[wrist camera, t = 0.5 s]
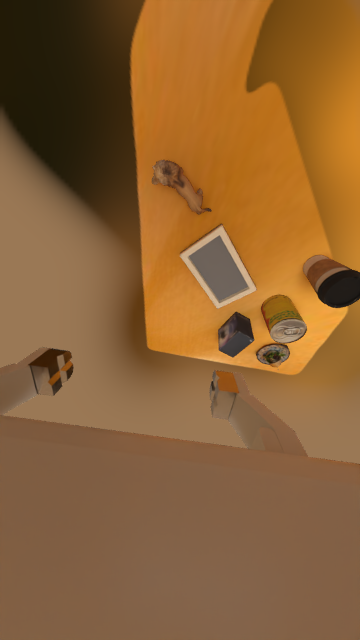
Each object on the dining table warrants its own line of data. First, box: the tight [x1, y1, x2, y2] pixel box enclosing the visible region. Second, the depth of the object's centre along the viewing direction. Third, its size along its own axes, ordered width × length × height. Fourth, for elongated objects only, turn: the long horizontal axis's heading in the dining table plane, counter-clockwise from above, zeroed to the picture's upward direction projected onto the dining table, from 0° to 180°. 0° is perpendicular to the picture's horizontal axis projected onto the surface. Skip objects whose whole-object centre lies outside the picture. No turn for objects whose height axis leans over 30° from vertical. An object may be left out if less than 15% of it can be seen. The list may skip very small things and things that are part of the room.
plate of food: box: [256, 344, 290, 368], centre depth 70 cm, size 12×12×8 cm
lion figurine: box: [152, 160, 212, 215], centre depth 40 cm, size 15×5×9 cm, turn 56°
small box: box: [218, 312, 254, 357], centre depth 62 cm, size 11×6×10 cm, turn 152°
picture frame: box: [180, 224, 257, 309], centre depth 53 cm, size 13×21×2 cm, turn 37°
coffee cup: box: [303, 255, 360, 308], centre depth 44 cm, size 8×8×15 cm
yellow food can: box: [261, 295, 307, 343], centre depth 55 cm, size 9×9×12 cm
